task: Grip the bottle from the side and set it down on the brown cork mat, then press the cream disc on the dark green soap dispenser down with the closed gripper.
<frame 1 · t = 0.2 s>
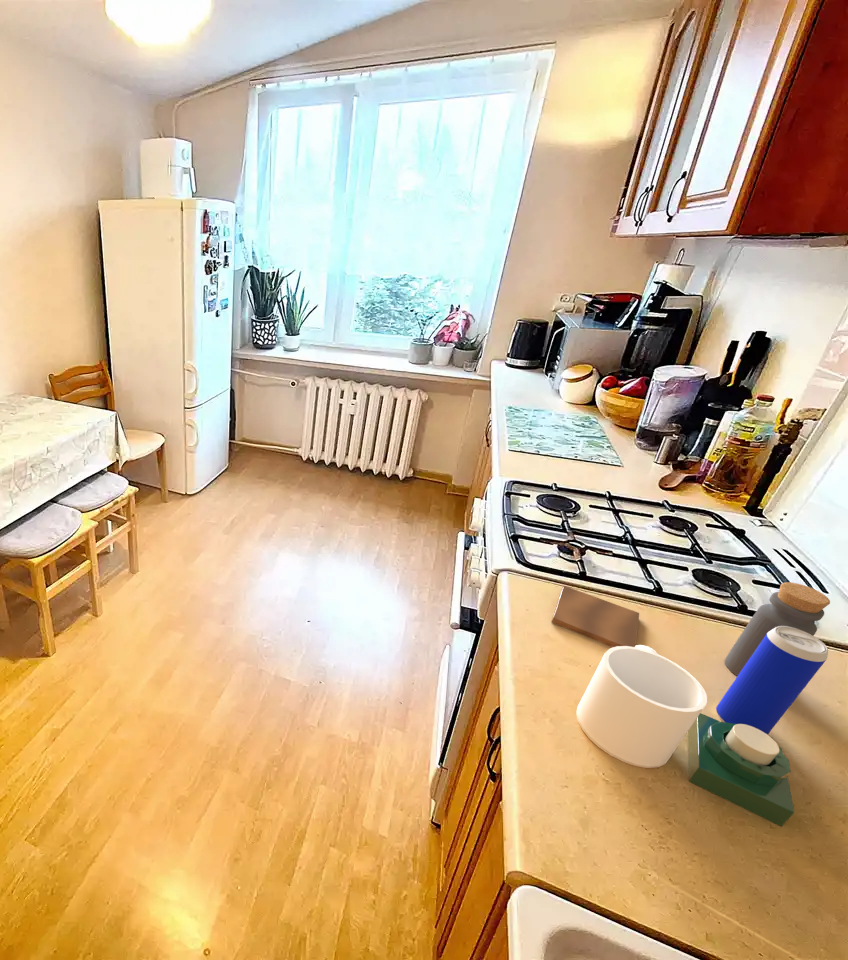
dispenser: (730, 771, 63), on the worktop
beverage can: (738, 723, 69), on the worktop
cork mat: (594, 619, 86), on the worktop
bottle: (749, 672, 77), on the worktop
mug: (619, 726, 68), on the worktop
cream disc: (751, 744, 61), point 5 cm above the worktop, slide at 0.1 cm
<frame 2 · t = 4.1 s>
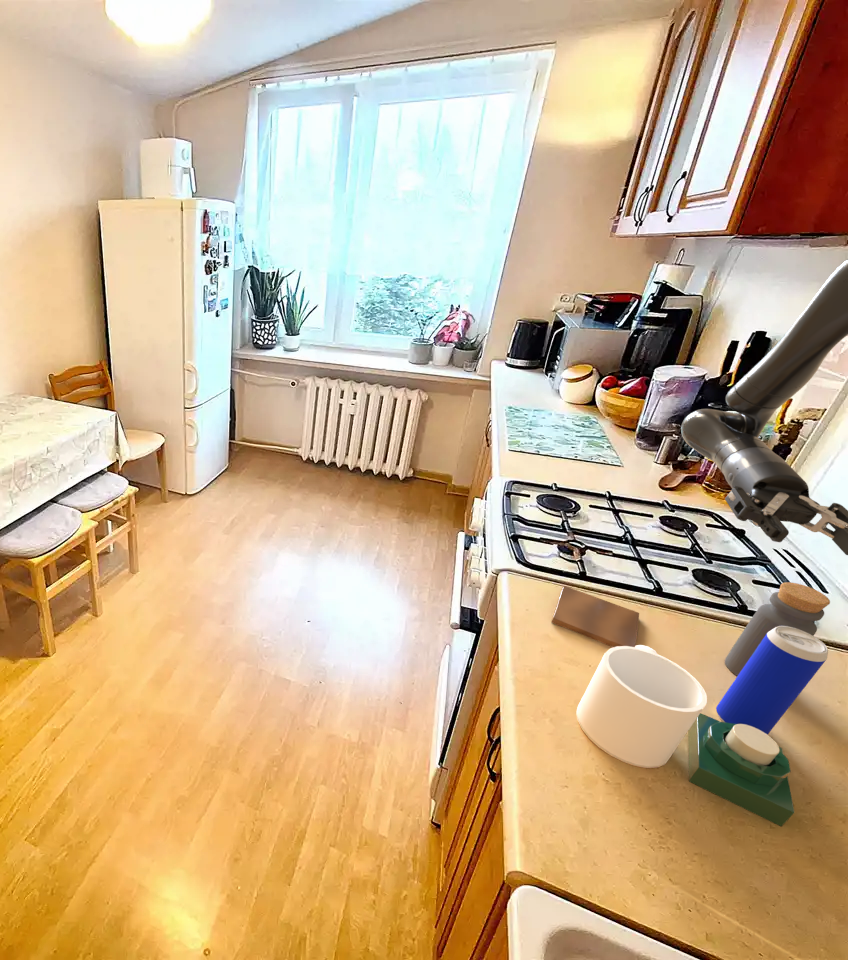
hand: (818, 544, 73), 19 cm above the worktop, tool horizontal, fingers open, 8 cm apart
nothing on the worktop moved.
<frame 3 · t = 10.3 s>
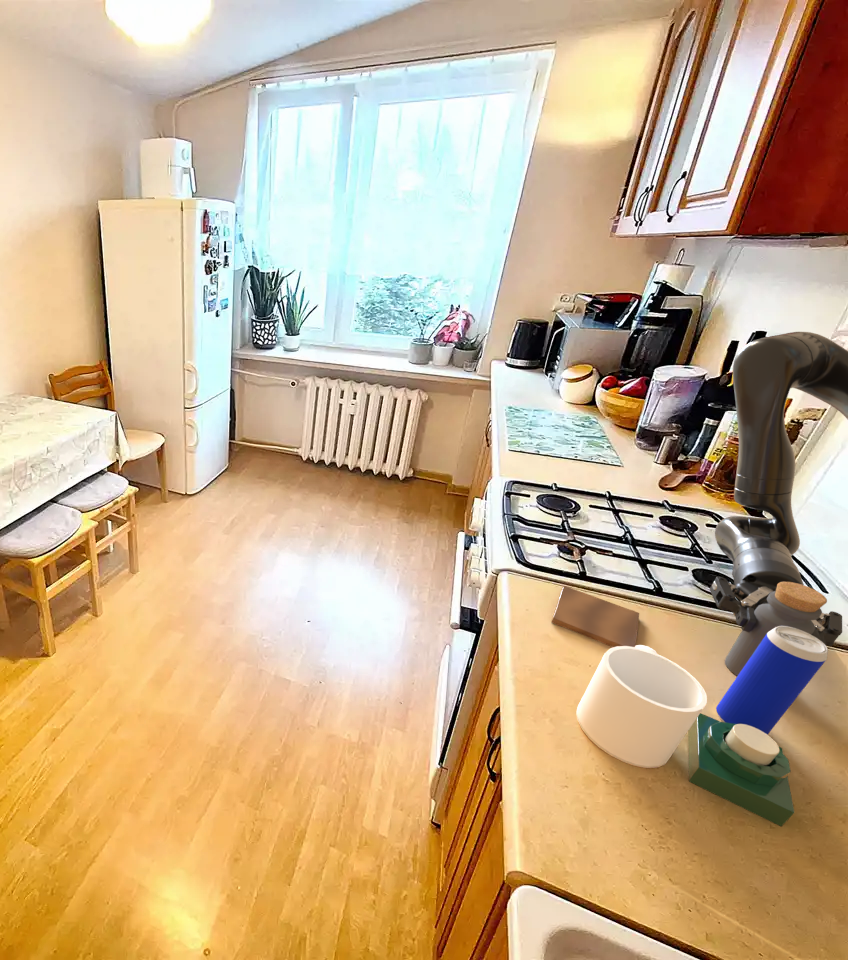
hand: (781, 637, 72), 9 cm above the worktop, tool horizontal, fingers closed on bottle, 6 cm apart
bottle: (749, 672, 77), on the worktop, touching gripper
everything else where it was.
when the fingers open (10 cm above the worktop, at t = 20.5 s): bottle stays where it is, resting on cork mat.
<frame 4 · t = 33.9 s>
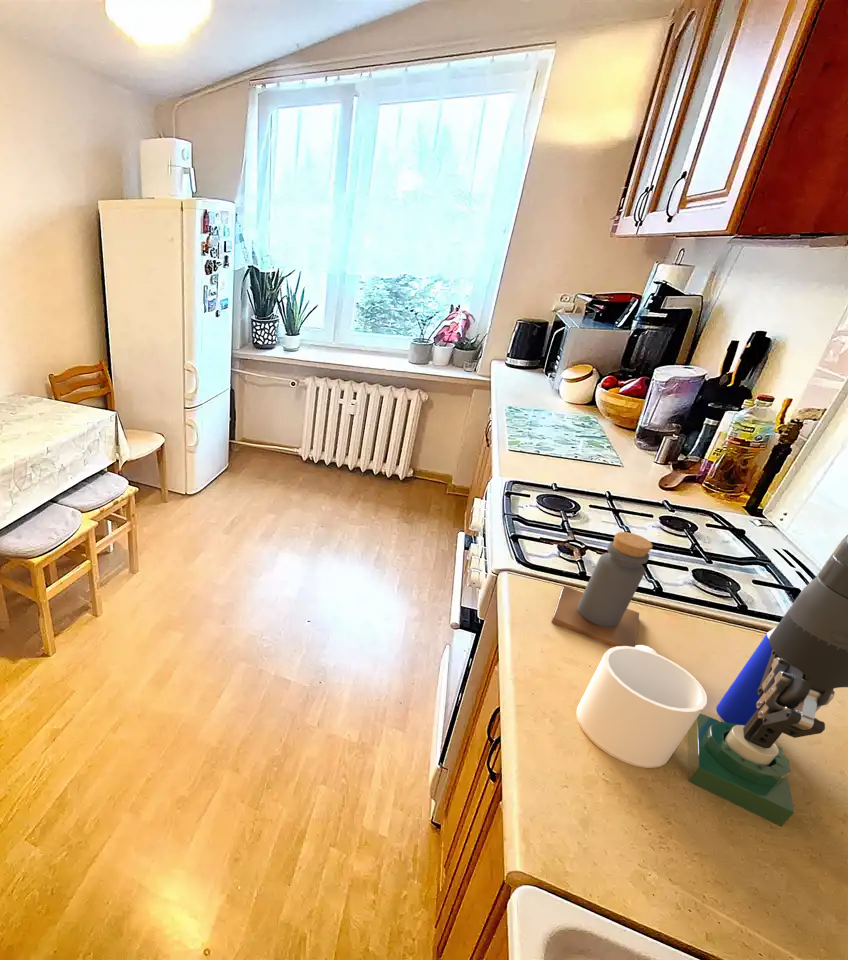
hand: (754, 739, 60), 6 cm above the worktop, tool pointing down, fingers closed
bottle: (597, 616, 86), point 1 cm above the worktop, touching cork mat
cream disc: (750, 745, 61), point 5 cm above the worktop, slide at -0.1 cm, touching gripper
everything else where it was.
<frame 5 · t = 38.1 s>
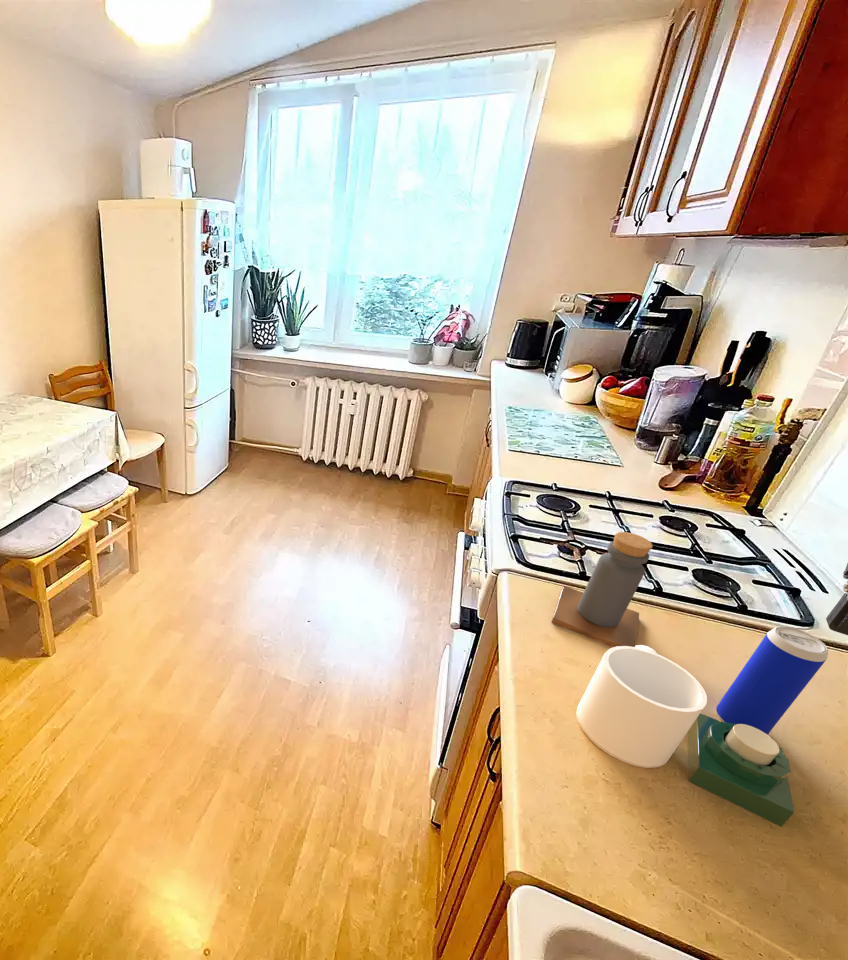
hand: (840, 629, 52), 23 cm above the worktop, tool pointing down, fingers closed
cream disc: (751, 744, 61), point 5 cm above the worktop, slide at 0.1 cm
everything else where it was.
at the end: bottle inside the target area on the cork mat (0.1 cm from its centre), point 0.8 cm above the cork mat's base; bottle tilted 0°; cream disc pushed in 1.1 cm at the most during the clip, back to where it started at the end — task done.
